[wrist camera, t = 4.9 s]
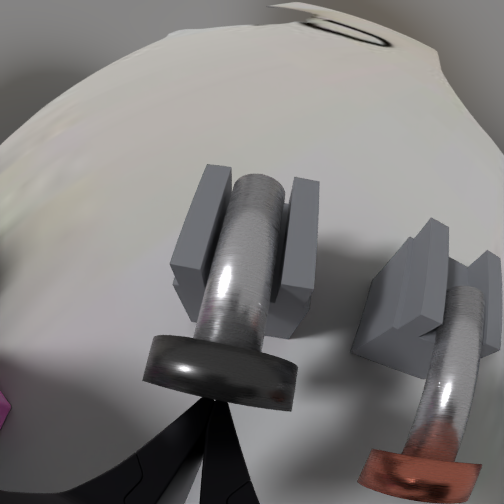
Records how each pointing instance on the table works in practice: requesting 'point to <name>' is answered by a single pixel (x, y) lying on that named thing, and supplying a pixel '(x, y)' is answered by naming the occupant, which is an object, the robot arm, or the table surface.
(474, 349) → the copper plunger
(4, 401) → the gum box
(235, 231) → the black plunger
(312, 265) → the grey u-shaped block
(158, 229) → the table surface
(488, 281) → the bed
